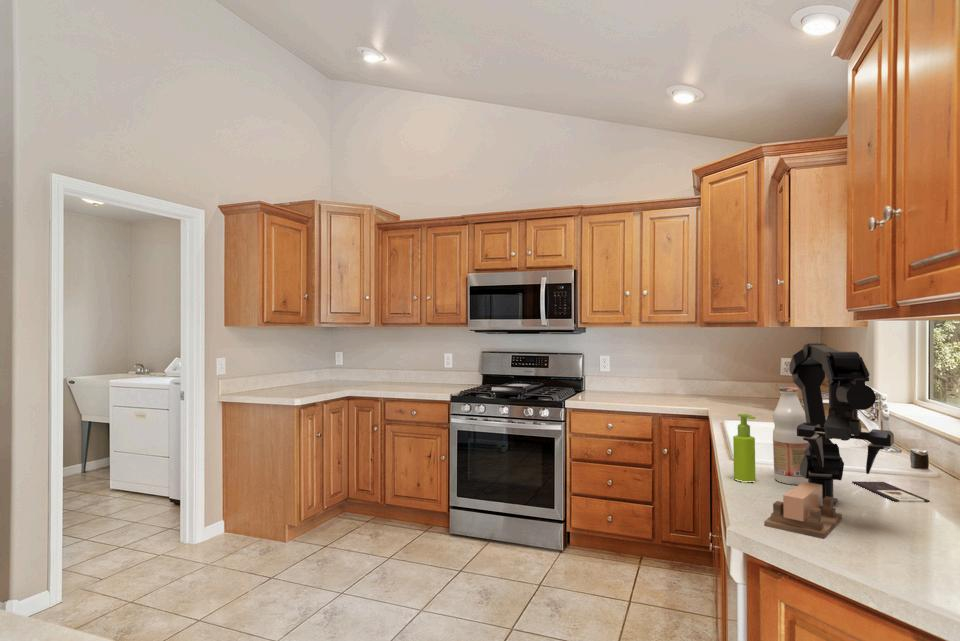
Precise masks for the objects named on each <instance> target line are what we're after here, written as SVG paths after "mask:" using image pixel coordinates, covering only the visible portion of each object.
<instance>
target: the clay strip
mask: <svg viewBox="0 0 960 641" xmlns="http://www.w3.org/2000/svg"><path fill="white" fill-rule="evenodd" d="M782 502H783V504H784V517H785V518H789V519H794V520H799V521H804V520H806V519H807V518H808V517H809V516H810V510H811V509H812V508H817V509H819V508H820V507H821V506H823V500H822V485H820V484H814V483H809V482H803V483H801V484H800V485H797V486H795V487H794V488H792V489H791V490H789V491H787V492H786V493H785V494H783V501H782Z"/></svg>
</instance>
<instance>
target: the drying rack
mask: <svg viewBox="0 0 960 641" xmlns="http://www.w3.org/2000/svg"><path fill="white" fill-rule="evenodd" d="M772 510H773V512H772V513H771V514H770V516H769V517H768V518H767V519H765V520H764V521H763V523H764V524H763V525H764V526H765V527H769V528H774V529H779V530H783V531H788V532H791V533H797V534H801V535H805V536H810V537H815V538H819V539H826V537H827V536H828V535H829V534H830V533H831V532H832V531H833V529H834V528H835V527H837V525H838V524H839V523H840V521H842V519H843V514H842V513H838V512H836V511H837V510H836V508H835V507H834V505H833V497H828V496H826V497H824V498H823V506H821V507H820V508H819V509H817V508H812V509H811V510H810V516H809V517H808V518H807V519H806V520H804V521H799V520H794V519H789V518H785V517H784V504H783V501H780V500H776V501H775V502H774V503H773V504H772Z"/></svg>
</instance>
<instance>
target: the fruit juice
mask: <svg viewBox="0 0 960 641" xmlns="http://www.w3.org/2000/svg"><path fill="white" fill-rule="evenodd" d="M778 391H779V393H780V397H779V399H778V402H777V405H776V407H775V409H774V410H773V412H772V420H773V424H774V429H773V430H772V445H773V446H772V449H773V476H774V480H775V479H776V480H777V481H776V480H775V481H776V482H778V481H779V483H781V482H782V484H788V485H793V486H794V485H795V486H796V485H797V486H798V485H800V484H801V483H803V482H808V479H806V478H804V477H803V476H802V475H801V474H800V464H801V462H802V459H803V457H804V450H805V449H806V447H807V445H808V443H809V442H808V441H806V440H803V438H804V437H800V436H797V426H799V425H800V424H802V423H806V417H805V410H804V407H803V405H802V403H801V402H800V399H799V397H798V393H799V387H796V386H795V387H794V386H781V387H780V386H779V390H778Z"/></svg>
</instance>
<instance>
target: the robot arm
mask: <svg viewBox="0 0 960 641" xmlns="http://www.w3.org/2000/svg"><path fill="white" fill-rule="evenodd" d="M788 367H789V368H788V369H789V370H788V371H789V373H790V375H791V377H792V380H793V383H794V384H795V385H796V386H797V388H798V389H800V391H801V396H802V402H803V410H804V411H805V417H806V423H802V424H800V425H799V426H797V436H800V437H804V438H803V440H806V441H808V442H809V443H808V445H807V447H806V449H805V450H804V457H803V459H802V462H801V464H800V474H801V475H802V476H803V477H804V478H806V479H808V482H809V483H814V484H820V485H822V500H823V498H824V497H826V496H828V497H833V506H834V505H835V504H836V503H837V502H838V500H839V499H838V498H837V497H834V481H842V479H843V473H844V468H845V467H844V465H845V463H844V461H843V458H842V457H841V454H840V447H839V446H838V445H839V444H837V443H834V442H833V441H832V439H834V440H835V439H836V440H840V441H844V442H845V441H849V440H851V439H854V440H863V441H869V444H868V445H867V454H866V455H867V457H866V465H865V473H866V475H869V474H870V472H871V470H872V468H873V464H874V462H875V460H876V457H877V455H878V454H879V452H880V450H884V449H886V448H887V447H892V446H893V445H894V444H895V435H894V433H893V431H891V430H884V429H876V428H875V429H874V428H873V429H871V430H870V431H862V424H861V420H860V419H858V418H859V414H858V411H864V410H865V411H866V410H867V409H870V408H871V407H873V406H874V404H875V403H876V399H877V396H876V393H875V391H874V390H873V389H872V387H870V386H869V385H867V384H866V382H869V381H870V371H869V370H868V368H867V364H866V363H865V361H864V359H863V357H862V356H861V355H860V353H858V352H857V351H839V350H837V349H834V348H832V347H829V346H828V345H827V344H825V343H823V342H822V343H819V342H817V343H814V342H813V343H811V342H810V343H809V342H808V343H805V344H804V345H803V347H802V349H800V350H799V351H798V352H796V353H795V354H793V355H792V357H791V359H790V361H789V366H788ZM826 377H827V384H828V412H827V413H828V415H827V417H826V413H825V407H824V401H823V395H822V390H821V388H822V387H821V386H822V384H823V382H824V380H825V379H826Z"/></svg>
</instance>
